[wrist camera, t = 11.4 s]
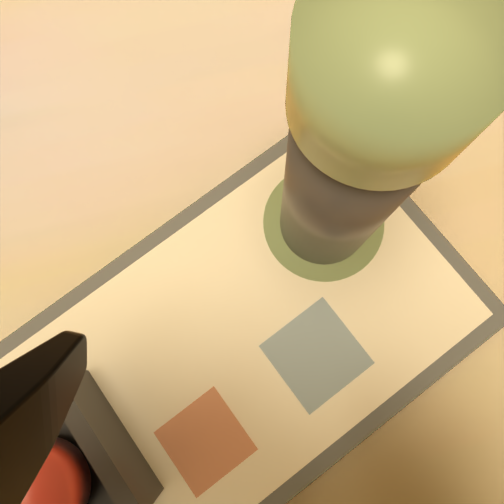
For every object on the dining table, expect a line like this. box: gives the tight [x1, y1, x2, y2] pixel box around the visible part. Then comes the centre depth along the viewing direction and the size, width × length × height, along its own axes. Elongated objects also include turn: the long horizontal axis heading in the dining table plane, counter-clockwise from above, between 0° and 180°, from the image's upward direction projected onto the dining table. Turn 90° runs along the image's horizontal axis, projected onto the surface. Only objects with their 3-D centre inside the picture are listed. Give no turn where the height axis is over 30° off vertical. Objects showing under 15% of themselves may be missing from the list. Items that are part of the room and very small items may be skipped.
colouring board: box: [0, 135, 504, 504], centre depth 20 cm, size 13×23×1 cm, turn 127°
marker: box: [280, 0, 504, 265], centre depth 14 cm, size 4×4×13 cm
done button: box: [21, 437, 91, 504], centre depth 16 cm, size 4×4×2 cm
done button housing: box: [58, 370, 164, 504], centre depth 18 cm, size 6×6×3 cm
